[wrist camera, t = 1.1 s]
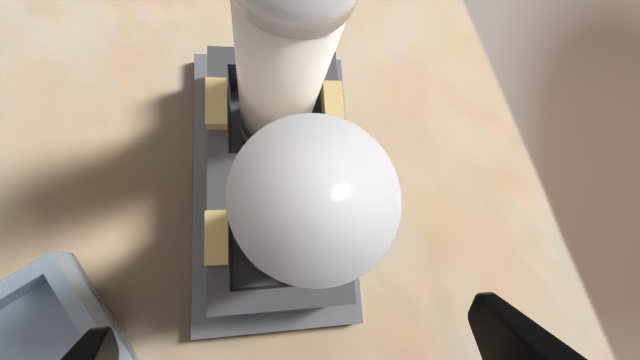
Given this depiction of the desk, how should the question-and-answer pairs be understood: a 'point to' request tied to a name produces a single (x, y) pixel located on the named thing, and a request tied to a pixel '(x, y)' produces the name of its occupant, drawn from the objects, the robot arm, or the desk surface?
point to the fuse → (283, 55)
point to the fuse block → (216, 235)
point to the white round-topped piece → (313, 201)
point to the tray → (51, 310)
